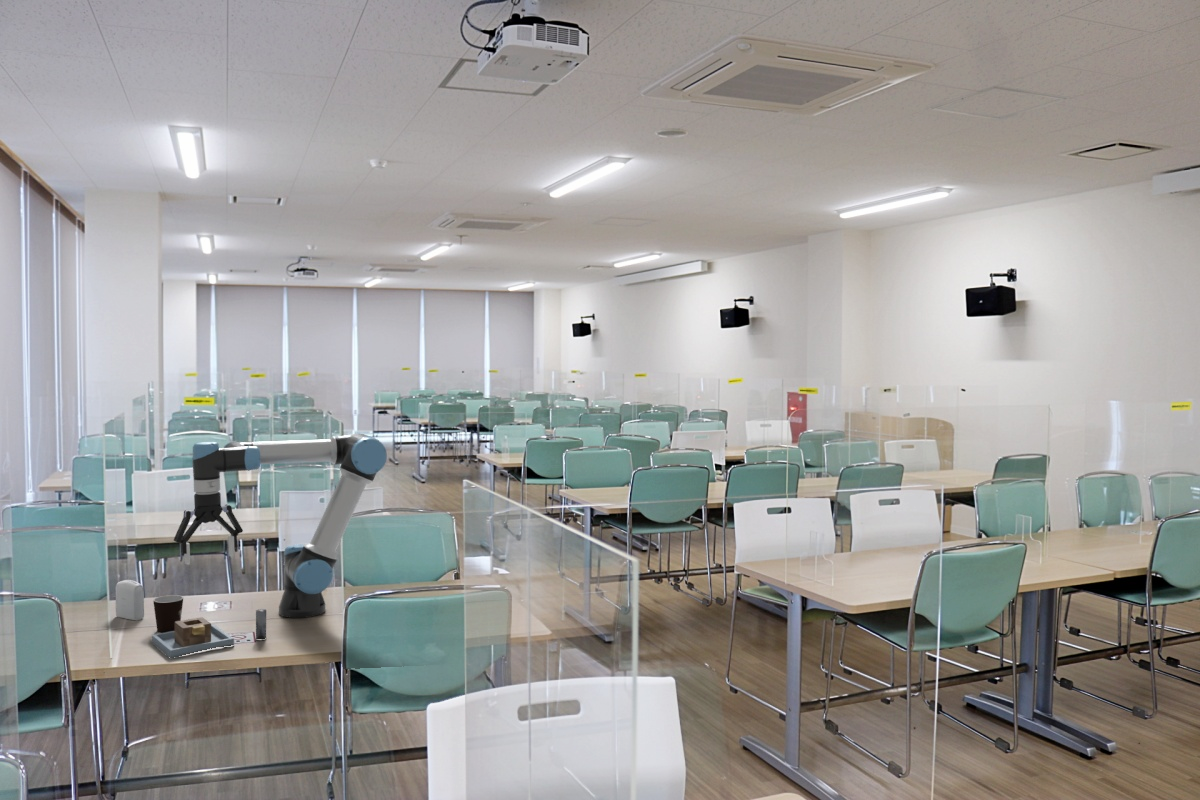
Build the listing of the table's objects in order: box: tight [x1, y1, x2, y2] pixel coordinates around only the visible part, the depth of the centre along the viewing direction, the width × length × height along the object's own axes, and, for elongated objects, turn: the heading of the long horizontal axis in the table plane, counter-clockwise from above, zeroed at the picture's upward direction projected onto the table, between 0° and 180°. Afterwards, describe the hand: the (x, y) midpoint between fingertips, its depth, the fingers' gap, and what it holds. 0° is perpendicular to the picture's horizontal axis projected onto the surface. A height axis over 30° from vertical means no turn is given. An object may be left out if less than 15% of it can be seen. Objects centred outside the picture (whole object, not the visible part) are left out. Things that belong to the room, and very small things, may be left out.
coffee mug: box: [152, 594, 184, 634], centre depth 291 cm, size 12×9×10 cm
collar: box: [175, 616, 212, 647], centre depth 276 cm, size 8×10×6 cm
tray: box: [151, 623, 235, 659], centre depth 277 cm, size 18×18×2 cm
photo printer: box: [114, 579, 145, 621], centre depth 301 cm, size 10×4×12 cm, turn 63°
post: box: [255, 608, 267, 640], centre depth 283 cm, size 3×3×9 cm
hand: (209, 560), depth 285 cm, fingers open, 13 cm apart
